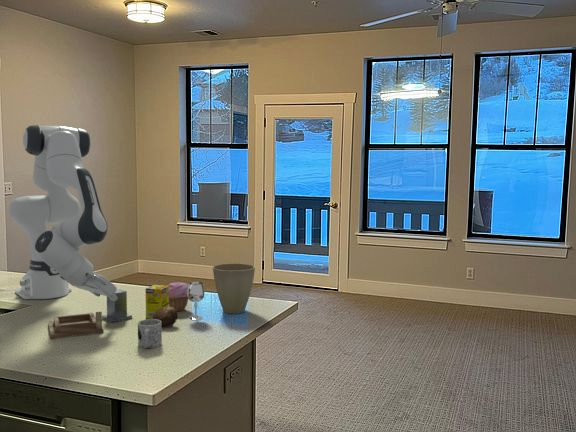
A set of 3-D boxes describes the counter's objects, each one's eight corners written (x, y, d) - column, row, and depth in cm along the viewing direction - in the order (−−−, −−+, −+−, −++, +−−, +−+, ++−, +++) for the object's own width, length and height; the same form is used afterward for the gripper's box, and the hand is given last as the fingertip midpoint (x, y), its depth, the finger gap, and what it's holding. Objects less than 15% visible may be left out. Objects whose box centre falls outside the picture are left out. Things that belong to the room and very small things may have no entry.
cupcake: (161, 309, 202) (160, 281, 201) (182, 305, 208) (182, 278, 207) (173, 314, 195) (173, 286, 194) (195, 310, 201) (195, 282, 200)
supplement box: (162, 322, 186) (161, 289, 185) (145, 320, 187) (144, 288, 186) (169, 317, 192) (169, 285, 191) (153, 315, 193) (152, 284, 192)
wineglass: (183, 318, 191) (183, 283, 190) (197, 314, 195) (197, 280, 194) (194, 321, 187) (194, 286, 186) (208, 318, 191) (207, 283, 190)
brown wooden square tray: (48, 325, 181) (47, 306, 181) (97, 319, 188) (97, 301, 187) (50, 338, 168) (50, 318, 167) (103, 332, 174) (103, 312, 174)
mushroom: (172, 310, 189) (167, 298, 184) (185, 323, 184) (180, 311, 180) (152, 324, 185) (146, 312, 181) (164, 338, 180) (159, 326, 176)
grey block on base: (101, 319, 189) (101, 291, 188) (120, 315, 194) (119, 287, 193) (113, 323, 184) (113, 294, 183) (132, 318, 190) (131, 291, 189)
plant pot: (263, 311, 200) (263, 267, 198) (229, 319, 190) (229, 272, 188) (238, 303, 211) (238, 261, 209) (204, 310, 201) (204, 266, 200)
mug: (140, 341, 167) (140, 319, 166) (163, 341, 167) (163, 319, 166) (133, 352, 157) (133, 329, 156) (158, 352, 157) (157, 329, 156)
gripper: (103, 268, 172) (131, 294, 180) (68, 260, 185) (96, 284, 194) (90, 284, 169) (119, 310, 177) (56, 275, 182) (84, 299, 191)
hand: (107, 296), depth 186 cm, fingers open, 8 cm apart
